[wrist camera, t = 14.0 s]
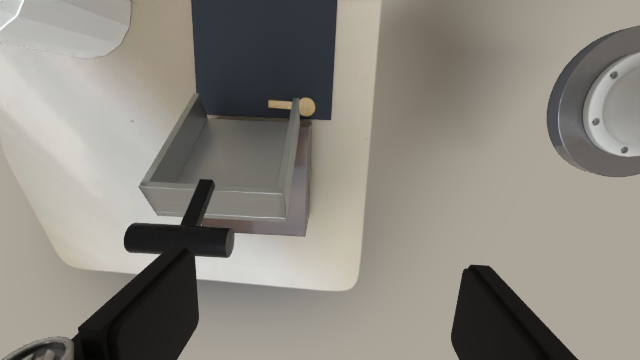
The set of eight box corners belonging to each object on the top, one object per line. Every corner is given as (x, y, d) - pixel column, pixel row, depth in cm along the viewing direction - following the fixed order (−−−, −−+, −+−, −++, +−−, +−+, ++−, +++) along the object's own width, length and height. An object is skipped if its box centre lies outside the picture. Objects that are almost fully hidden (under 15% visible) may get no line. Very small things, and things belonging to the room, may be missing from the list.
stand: (308, 216, 44) (305, 236, 38) (221, 211, 45) (201, 231, 38) (312, 122, 41) (308, 127, 34) (217, 118, 41) (195, 121, 34)
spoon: (316, 98, 40) (316, 98, 39) (314, 117, 40) (314, 117, 40) (269, 94, 40) (268, 94, 39) (268, 112, 40) (267, 112, 40)
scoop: (275, 291, 22) (266, 250, 17) (123, 283, 22) (76, 240, 17) (300, 126, 34) (298, 78, 30) (203, 122, 34) (187, 74, 30)
